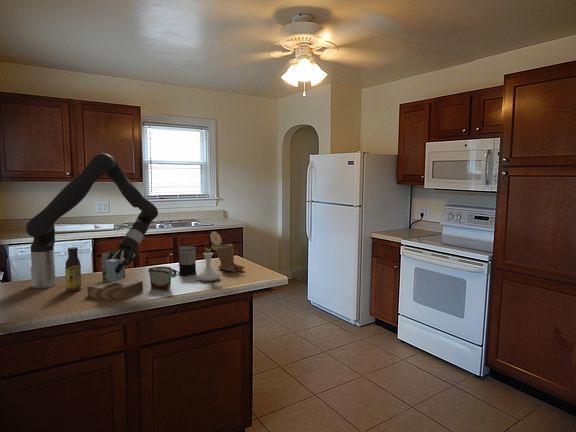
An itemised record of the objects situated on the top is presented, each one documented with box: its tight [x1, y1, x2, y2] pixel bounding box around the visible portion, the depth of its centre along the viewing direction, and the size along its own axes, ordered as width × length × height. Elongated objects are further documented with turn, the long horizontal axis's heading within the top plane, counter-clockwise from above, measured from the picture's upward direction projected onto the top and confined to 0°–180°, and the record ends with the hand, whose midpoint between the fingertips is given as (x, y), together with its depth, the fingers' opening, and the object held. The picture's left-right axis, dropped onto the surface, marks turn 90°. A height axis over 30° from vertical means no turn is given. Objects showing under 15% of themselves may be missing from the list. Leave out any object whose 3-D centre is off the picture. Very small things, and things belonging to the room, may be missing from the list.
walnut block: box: [86, 278, 144, 302], centre depth 169 cm, size 16×16×5 cm
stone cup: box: [215, 243, 245, 273], centre depth 213 cm, size 15×12×15 cm
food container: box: [147, 266, 174, 292], centre depth 177 cm, size 12×6×10 cm, turn 71°
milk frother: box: [171, 245, 197, 277], centre depth 202 cm, size 14×16×15 cm
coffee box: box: [101, 249, 126, 282], centre depth 184 cm, size 9×6×16 cm
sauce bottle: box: [64, 246, 82, 292], centre depth 174 cm, size 7×6×20 cm
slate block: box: [106, 259, 124, 282], centre depth 169 cm, size 5×5×9 cm
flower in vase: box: [196, 231, 223, 282], centre depth 193 cm, size 13×11×25 cm
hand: (111, 271), depth 167 cm, fingers closed on slate block, 5 cm apart
